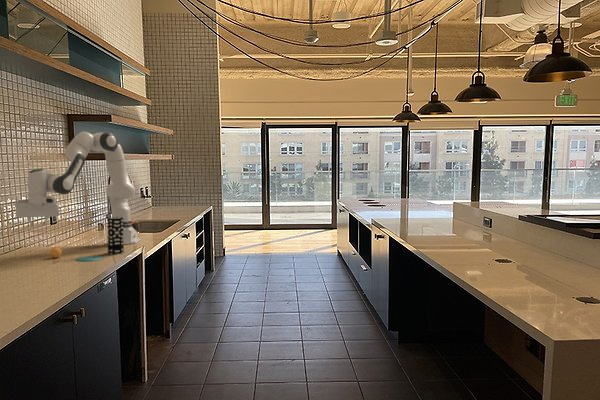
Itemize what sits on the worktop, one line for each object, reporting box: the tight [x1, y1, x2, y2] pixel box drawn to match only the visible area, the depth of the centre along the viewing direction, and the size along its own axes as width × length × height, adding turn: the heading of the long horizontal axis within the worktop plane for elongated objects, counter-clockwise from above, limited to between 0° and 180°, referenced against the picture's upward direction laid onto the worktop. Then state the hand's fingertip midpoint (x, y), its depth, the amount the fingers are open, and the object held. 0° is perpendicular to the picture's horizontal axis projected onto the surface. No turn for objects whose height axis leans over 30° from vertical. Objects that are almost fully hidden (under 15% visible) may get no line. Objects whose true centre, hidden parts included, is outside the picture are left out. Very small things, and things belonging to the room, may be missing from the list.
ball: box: [49, 247, 63, 259], centre depth 237 cm, size 6×6×6 cm
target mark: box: [75, 255, 104, 263], centre depth 236 cm, size 13×13×1 cm
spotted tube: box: [106, 216, 125, 255], centre depth 252 cm, size 8×8×20 cm
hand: (38, 225), depth 237 cm, fingers open, 4 cm apart
